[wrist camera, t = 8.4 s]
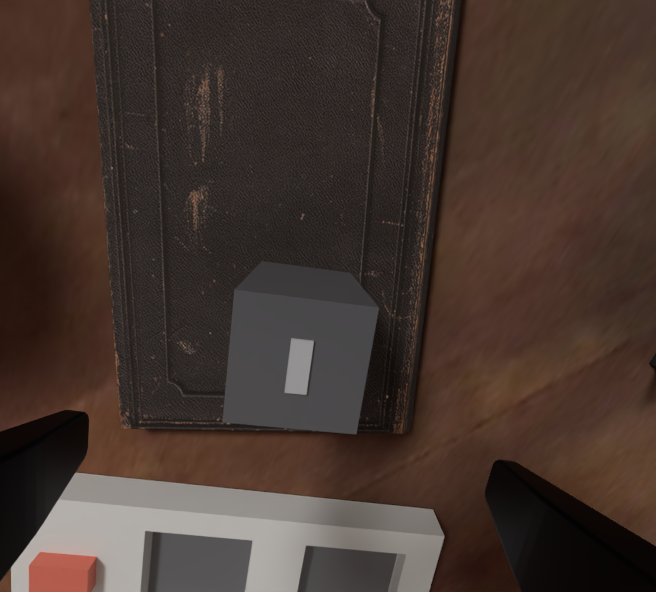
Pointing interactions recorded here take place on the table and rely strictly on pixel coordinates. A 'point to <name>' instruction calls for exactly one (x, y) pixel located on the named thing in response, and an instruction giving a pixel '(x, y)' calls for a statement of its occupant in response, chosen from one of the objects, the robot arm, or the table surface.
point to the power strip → (223, 542)
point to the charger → (299, 349)
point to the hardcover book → (266, 180)
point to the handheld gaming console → (653, 361)
